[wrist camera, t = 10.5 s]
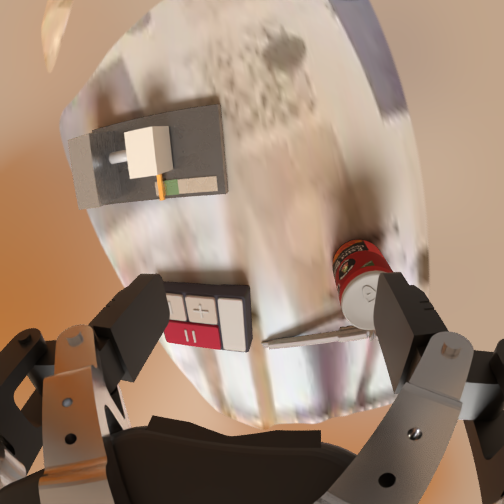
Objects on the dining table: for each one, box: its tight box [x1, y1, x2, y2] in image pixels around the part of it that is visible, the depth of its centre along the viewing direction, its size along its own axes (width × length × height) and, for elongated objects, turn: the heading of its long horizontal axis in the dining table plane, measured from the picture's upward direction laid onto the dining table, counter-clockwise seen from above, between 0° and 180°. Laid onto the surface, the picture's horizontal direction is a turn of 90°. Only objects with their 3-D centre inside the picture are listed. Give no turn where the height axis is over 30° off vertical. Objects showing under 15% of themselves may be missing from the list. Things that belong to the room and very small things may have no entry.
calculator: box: [163, 282, 253, 352], centre depth 47 cm, size 11×4×15 cm
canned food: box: [332, 240, 393, 330], centre depth 36 cm, size 8×8×11 cm
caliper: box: [262, 326, 378, 349], centre depth 44 cm, size 20×1×6 cm, turn 112°
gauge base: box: [68, 104, 228, 210], centre depth 36 cm, size 12×20×8 cm, turn 94°
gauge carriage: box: [109, 126, 173, 200], centre depth 36 cm, size 10×8×5 cm
